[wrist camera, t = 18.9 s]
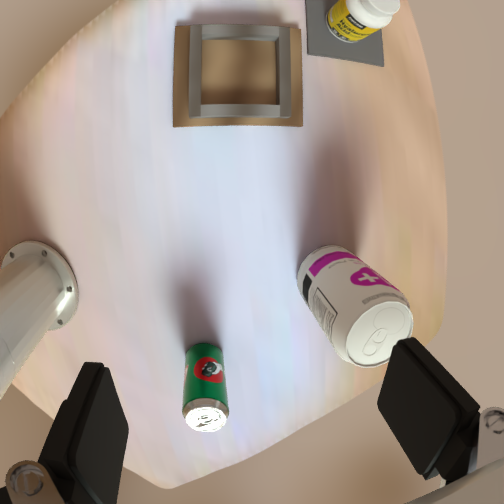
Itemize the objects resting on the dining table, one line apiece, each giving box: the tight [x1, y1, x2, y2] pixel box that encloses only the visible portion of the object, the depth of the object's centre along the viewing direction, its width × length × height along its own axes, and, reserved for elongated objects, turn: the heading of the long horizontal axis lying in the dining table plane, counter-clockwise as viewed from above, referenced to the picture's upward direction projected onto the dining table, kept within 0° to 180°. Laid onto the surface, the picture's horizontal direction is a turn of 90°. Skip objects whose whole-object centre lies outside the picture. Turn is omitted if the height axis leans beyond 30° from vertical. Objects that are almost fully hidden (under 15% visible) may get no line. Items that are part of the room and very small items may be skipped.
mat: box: [305, 0, 384, 67], centre depth 30 cm, size 10×10×1 cm
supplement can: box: [297, 245, 413, 368], centre depth 33 cm, size 8×8×15 cm
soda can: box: [182, 343, 229, 432], centre depth 36 cm, size 5×5×12 cm
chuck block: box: [173, 24, 303, 127], centre depth 30 cm, size 14×12×3 cm
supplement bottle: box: [326, 0, 400, 43], centre depth 26 cm, size 5×5×10 cm
